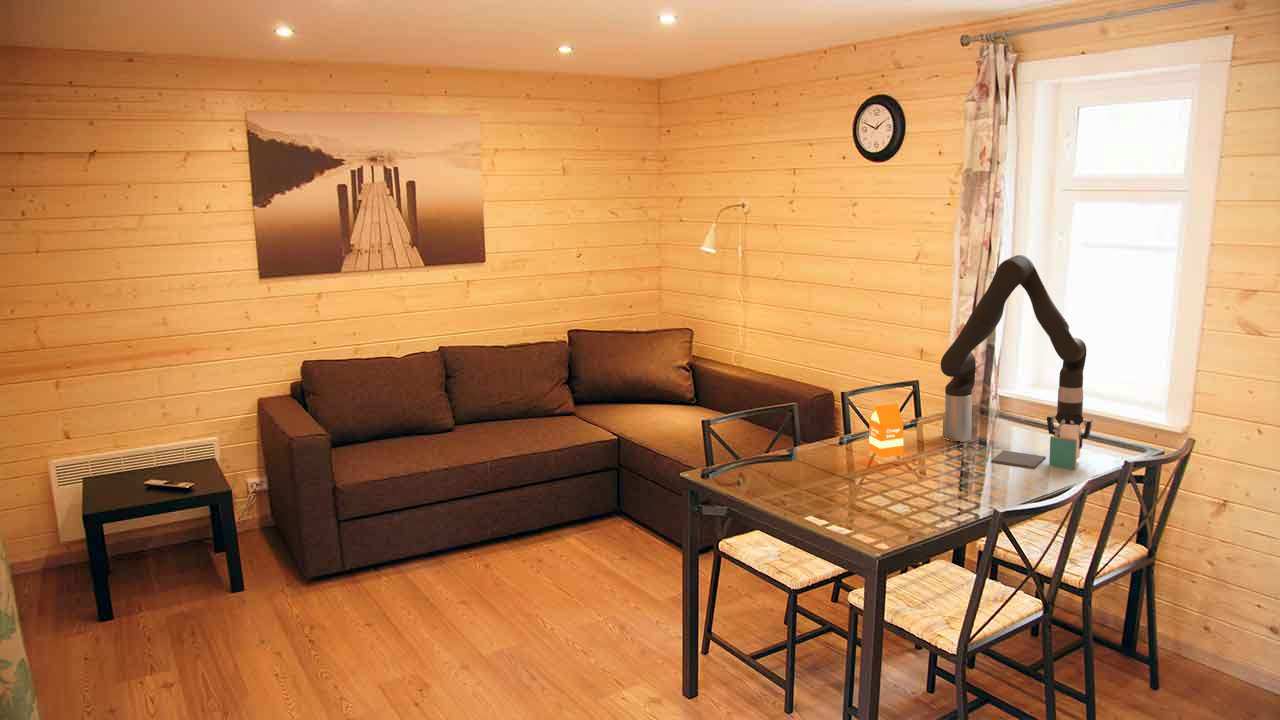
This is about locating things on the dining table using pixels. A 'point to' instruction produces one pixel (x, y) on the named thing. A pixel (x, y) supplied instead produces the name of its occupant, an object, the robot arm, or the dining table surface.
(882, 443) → the orange juice
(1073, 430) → the can
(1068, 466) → the tile
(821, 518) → the dining table surface
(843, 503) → the dining table surface
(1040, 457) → the mat
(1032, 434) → the dining table surface
